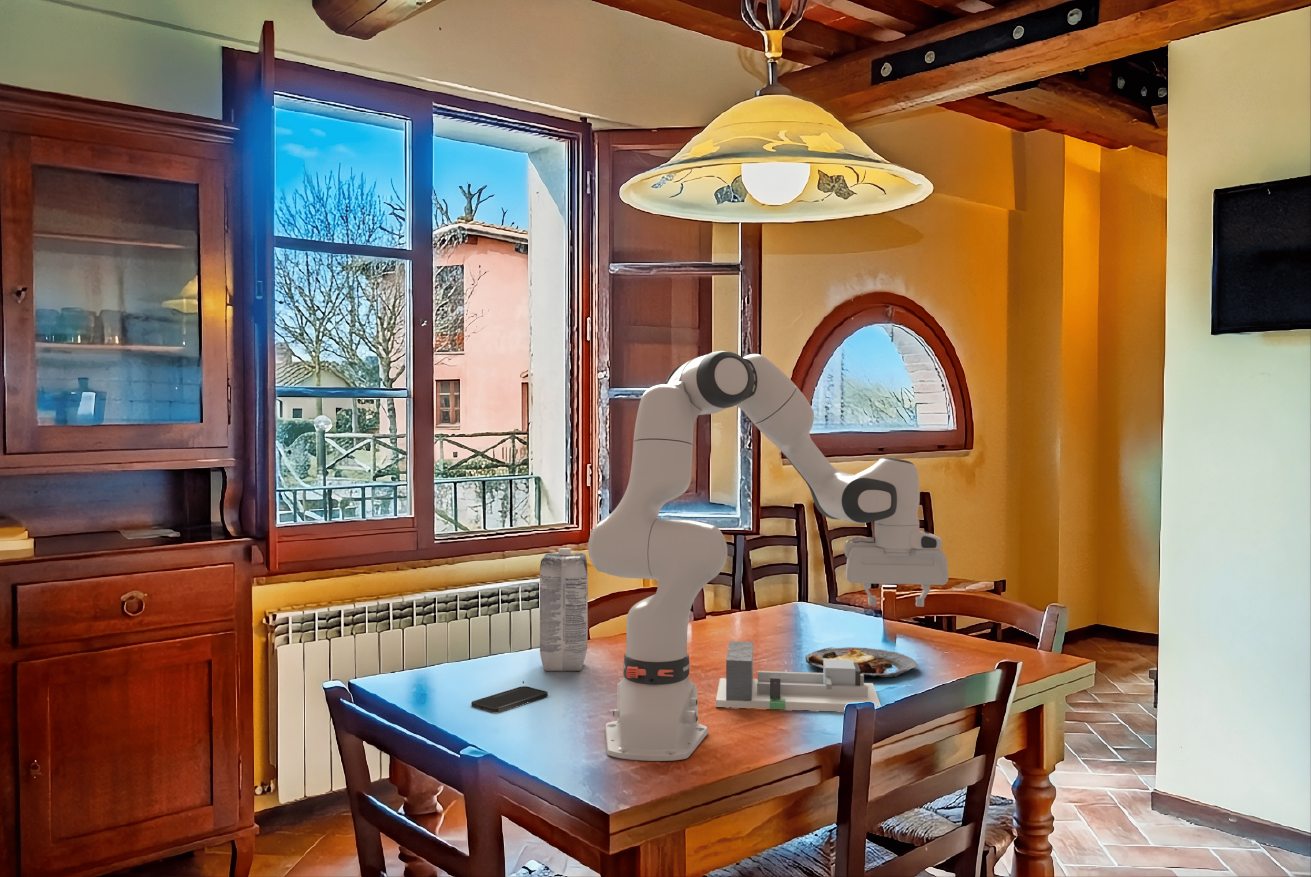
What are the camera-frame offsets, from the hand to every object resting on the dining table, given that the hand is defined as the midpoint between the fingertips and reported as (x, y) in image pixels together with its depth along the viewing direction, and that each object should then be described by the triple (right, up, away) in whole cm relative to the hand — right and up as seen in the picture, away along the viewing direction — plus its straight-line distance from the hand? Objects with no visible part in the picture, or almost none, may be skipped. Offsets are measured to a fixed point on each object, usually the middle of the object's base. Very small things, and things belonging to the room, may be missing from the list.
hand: (895, 605), depth 203 cm
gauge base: (-20, -19, 0) cm, 28 cm away
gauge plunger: (-11, -17, -1) cm, 21 cm away
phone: (-78, -20, -1) cm, 81 cm away
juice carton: (-70, -18, +24) cm, 76 cm away
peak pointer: (-25, -17, -5) cm, 31 cm away
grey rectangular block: (-32, -18, +2) cm, 36 cm away
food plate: (-2, -19, +25) cm, 31 cm away
